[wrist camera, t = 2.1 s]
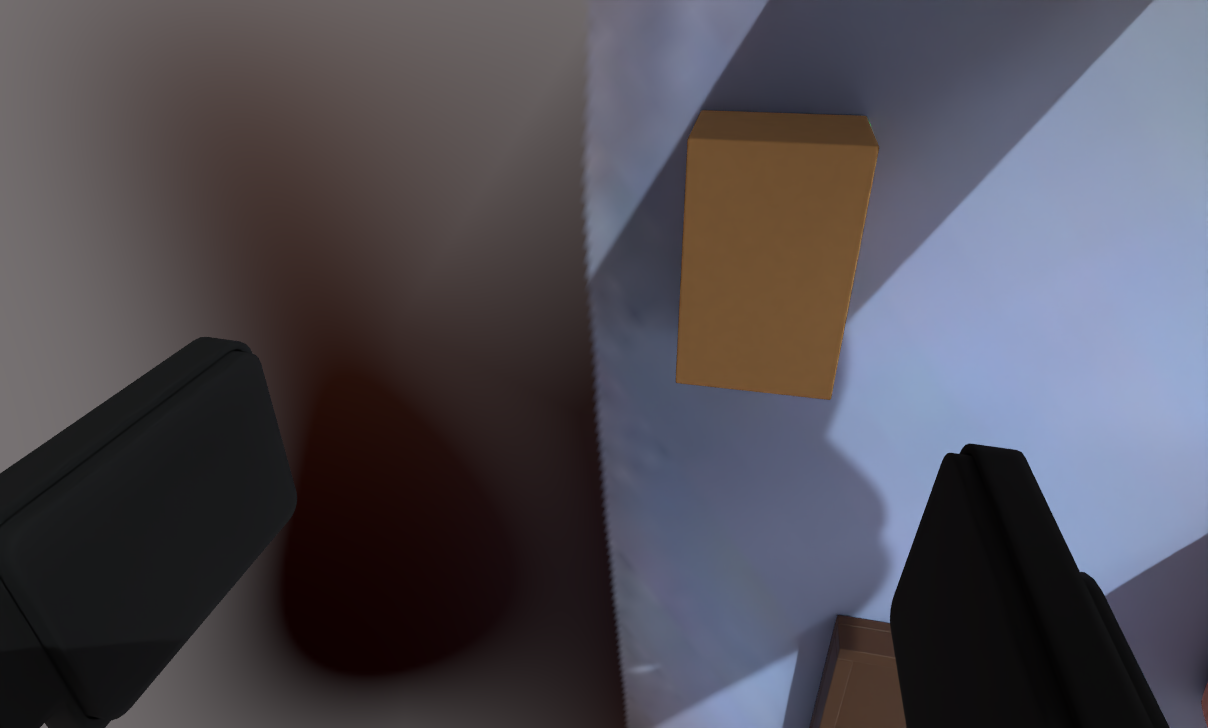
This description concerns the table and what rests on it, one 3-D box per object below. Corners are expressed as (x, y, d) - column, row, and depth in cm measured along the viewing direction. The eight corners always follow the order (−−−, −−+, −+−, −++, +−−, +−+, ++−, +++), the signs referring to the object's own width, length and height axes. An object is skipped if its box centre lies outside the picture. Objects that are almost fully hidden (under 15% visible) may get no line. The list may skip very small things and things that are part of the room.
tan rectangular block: (701, 109, 25) (687, 137, 21) (866, 115, 24) (880, 145, 20) (687, 332, 29) (675, 383, 26) (826, 345, 28) (830, 400, 25)
